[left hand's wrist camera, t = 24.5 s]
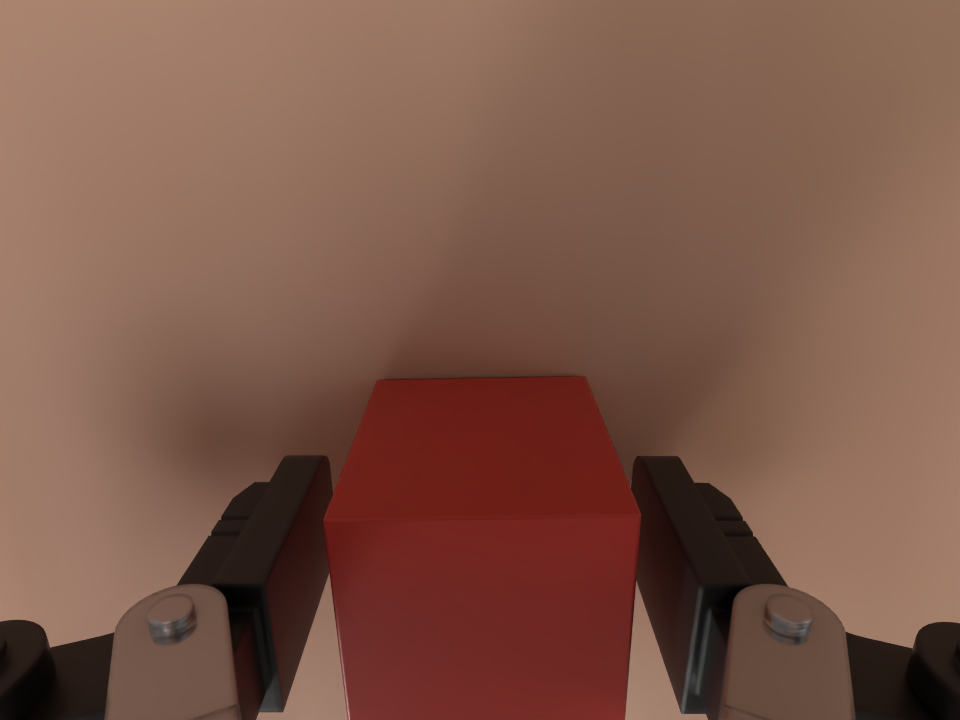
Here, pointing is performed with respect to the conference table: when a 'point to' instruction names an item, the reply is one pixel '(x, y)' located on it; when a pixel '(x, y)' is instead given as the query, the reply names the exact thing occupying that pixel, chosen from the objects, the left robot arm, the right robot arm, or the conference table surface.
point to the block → (483, 554)
